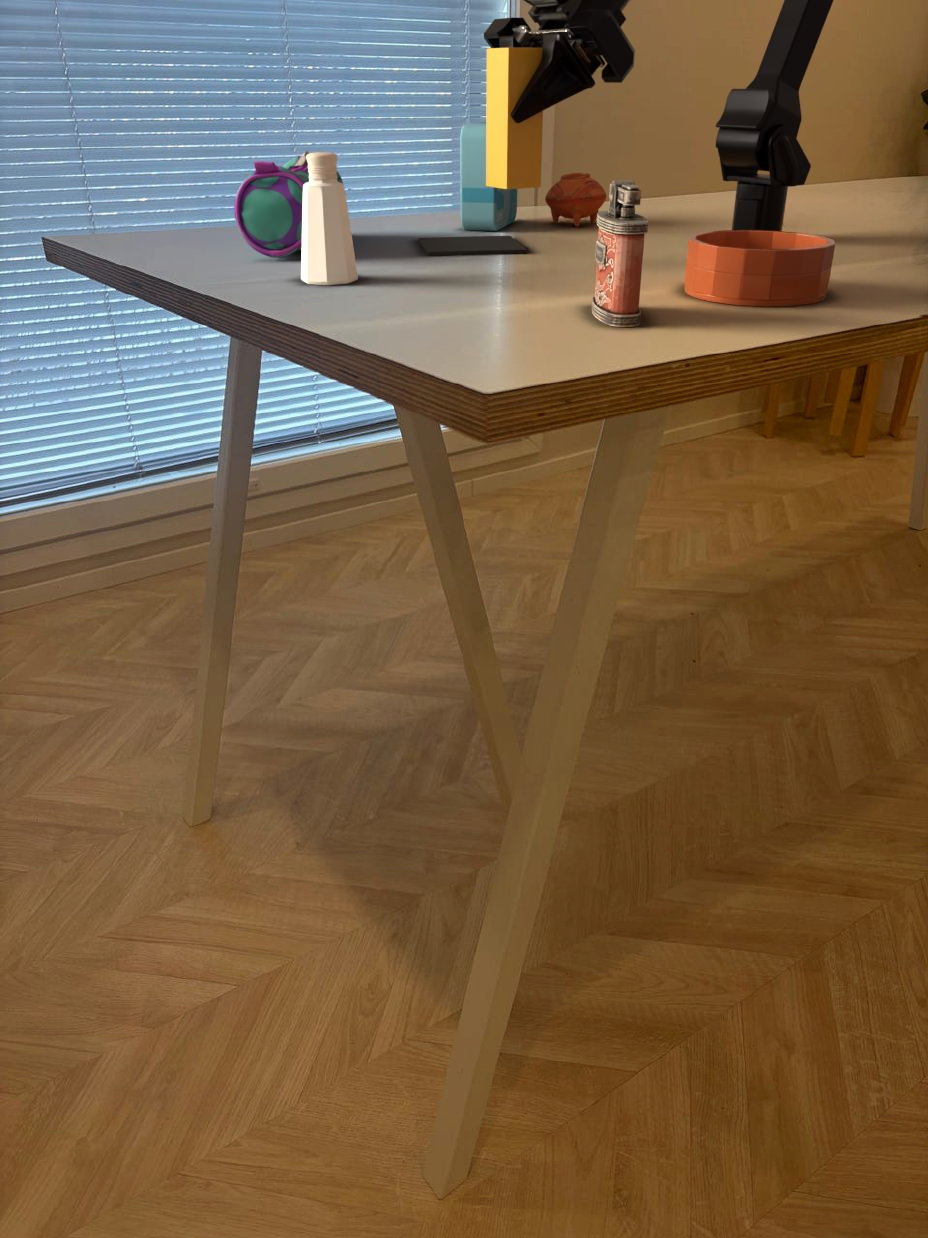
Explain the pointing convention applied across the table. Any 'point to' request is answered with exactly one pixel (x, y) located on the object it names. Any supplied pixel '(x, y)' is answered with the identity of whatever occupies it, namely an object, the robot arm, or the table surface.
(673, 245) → the table surface
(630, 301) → the lighter
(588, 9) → the robot arm
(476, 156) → the data package
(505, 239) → the mat
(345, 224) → the pepper shaker
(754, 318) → the table surface
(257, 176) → the pencil case
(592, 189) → the pot
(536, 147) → the block
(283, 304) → the table surface
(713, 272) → the bowl
